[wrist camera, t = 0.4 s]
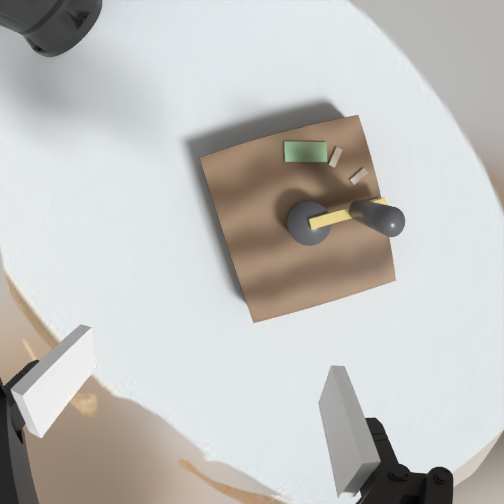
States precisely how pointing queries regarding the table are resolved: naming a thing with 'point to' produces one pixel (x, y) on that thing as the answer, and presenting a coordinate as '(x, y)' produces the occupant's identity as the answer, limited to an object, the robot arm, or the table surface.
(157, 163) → the table surface
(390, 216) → the dark grey lever
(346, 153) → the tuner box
